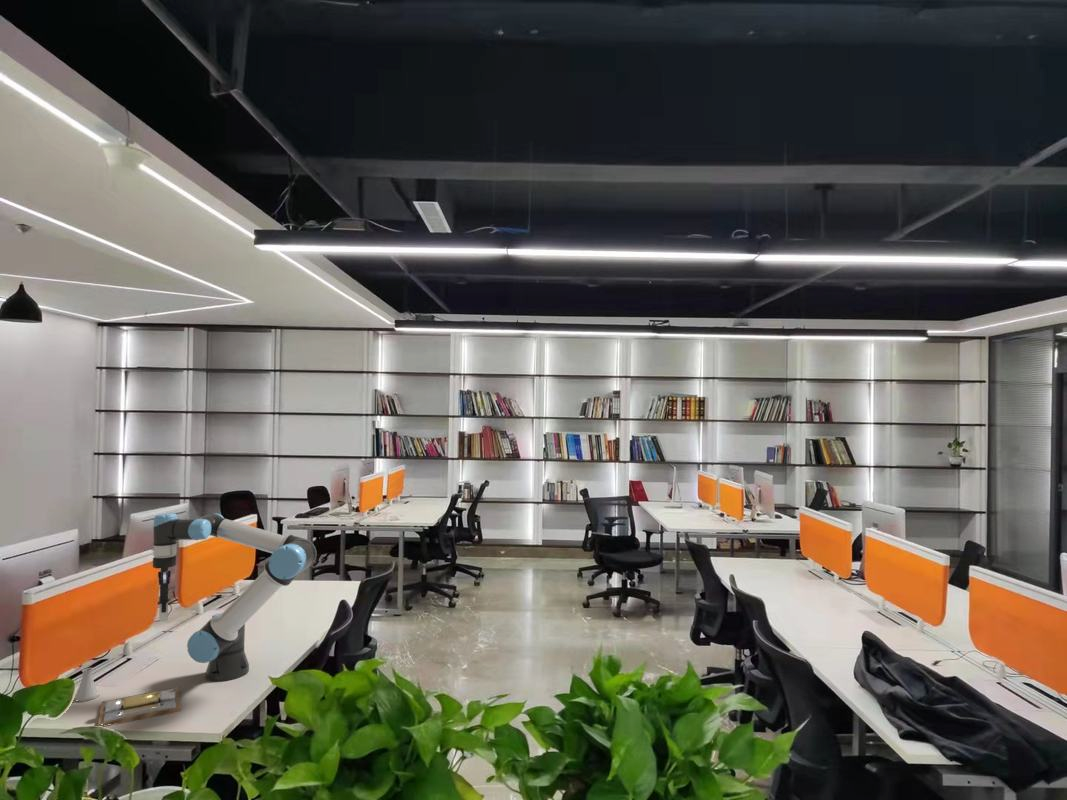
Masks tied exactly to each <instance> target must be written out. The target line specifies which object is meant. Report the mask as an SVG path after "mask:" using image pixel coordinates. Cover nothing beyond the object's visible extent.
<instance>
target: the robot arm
mask: <svg viewBox="0 0 1067 800" xmlns="http://www.w3.org/2000/svg"><path fill="white" fill-rule="evenodd" d="M152 528H153V531H152V532H153V543H152V545H153V547H152V548H151V549H150V550H151V551H152V552H153V553H152V556H153V558H152V568H154V569H160V571H158V572H157V578H158V586H159V597H158V598H159V601H157V605H159V607H158V608H159V613H158V617H159V618H158V621H159V622H167V621H168V619H169V618H168V617H169V602H170V600H171V598H169V585H170V582H171V581H170V579H171V578H170V577H171V573H172V572H171V570H169V568H173V567H175V566H176V565H177V556H176V554H177V541H178V540H180V541H181V540H182V541H184V540H185V541H199V540H206V539H208V538H209V536H212V537H216V538H219V539H223V540H225V541H229V542H233V543H236V544H239V545H243V546H246V547H250V548H253V549H256V550H260V551H263V552H266V553H270V554H271V555H270V557H269V559H268V560H267V561H266V562H265V563H264V566H263V568H264V569H263V571H262V572H261V573H260V574H259V575H258V576H257V578H255V580H253V582H251V584H250V585H249V586H247V588H245V590H243V592H242V593H240V595H238V597H237V598H236V599H234V601H233V602H231V603H230V605H228V607H226V609H224V611H223V612H219V613H215V614H213V615H212V617H211V618H210V619H209V620H208V621H207V622H206V623H205V624H204V625H203V626H202V627H201V628H200V629H199V630H197V631H195V632H193V634H192V635H190V637H189V639H188V640H187V645H186V646H187V647H186V648H187V653H188V655H189V657H190V658H191V659H192V660H193V661H195V662H197V663H200V664H206V663H208V665H207V667H206V670H205V678H206V679H207V680H209V681H213V682H219V681H220V682H221V681H222V682H223V681H228V680H230V681H231V680H233V679H237V678H241V677H243V676H245V675H247V674H248V673H249V671H250V663H249V661H248V658H247V655H246V651H245V637H246V635H245V634H246V631H245V630H246V629H245V628H246V623H247V622H248V621H249V620H250V619H252V617H253V616H254V615H255V614H256V613H257V612H259V610H260V609H261V608H262V607H263V606H264V605H265V604H266V603H267V602H268V601H269V600H270V599H271V598H272V597H273V596H274V595H275V593H276V592H278V590H279V589H280V588H281V587H287V586H289V585H290V584H291V583H292V582H293V581H294V580H295V579H296V578H297V577H298V576H299V575H300V574H302V572H303V571H305V570H307V569H309V568H310V567H312V565H313V564H314V563H315V562H316V560H317V556H318V555H317V553H318V552H317V549H316V546H315V545H314V543H313V542H312V541H310V540H309V539H306V538H303V537H300V536H295V535H293V534H288V535H286V536H285V535H283V534H279V533H276V532H272V531H269V530H266V529H263V528H258V527H255V526H252V525H249V524H245V523H242V522H238V521H234V520H232V519H228V518H225V517H224V516H223V515H222V514H220V513H209V514H206V515H203V516H199V517H194V518H187V519H182V518H180V519H179V518H178V515H177V514H176V513H171V512H170V513H160V514H157V515H155V516H154V518H153V526H152Z"/></svg>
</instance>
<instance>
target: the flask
mask: <svg viewBox="0 0 1067 800" xmlns="http://www.w3.org/2000/svg"><path fill="white" fill-rule="evenodd" d="M93 671H94V668H93V667H88V668H84V669H82V670H81V672H82V677H81V681H80V683H79V686H78V689H77V691H76V694H75V695H74V697H73V700H74V701H75V700H78V702H81V703H82V702H83V703H84V702H87V701H91V700H94V699H96V698H98V697H100V693H99V690H98V688H97V686H96V683H95V681H94V677H93Z"/></svg>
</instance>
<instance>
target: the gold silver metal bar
mask: <svg viewBox="0 0 1067 800" xmlns="http://www.w3.org/2000/svg"><path fill="white" fill-rule="evenodd" d="M153 692H154V693H150V692H148V693H149V694H145V693H142V694H143V695H139V694H137V695H138V696H134V695H132V696H133V697H129V696H127V697H128V698H124V700H123V701H122V708H123V710H126V709H131V708H137V707H142V706H147V705H152V704H157V703H158V701H160V694H158V692H155V691H153Z"/></svg>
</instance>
